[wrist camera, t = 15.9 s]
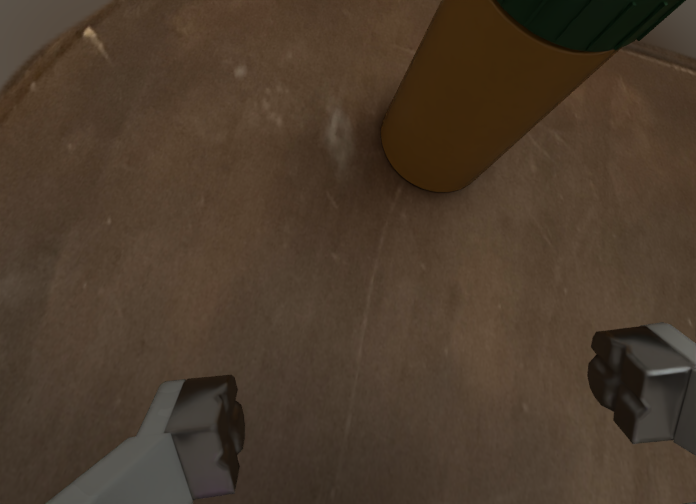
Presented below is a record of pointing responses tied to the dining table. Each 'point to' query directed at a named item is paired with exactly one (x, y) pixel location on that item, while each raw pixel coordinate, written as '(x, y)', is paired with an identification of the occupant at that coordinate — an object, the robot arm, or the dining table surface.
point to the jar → (475, 93)
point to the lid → (590, 20)
